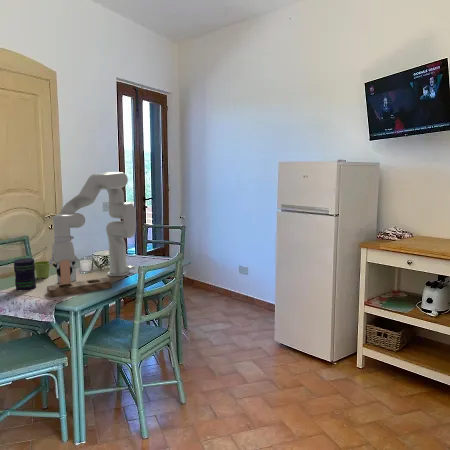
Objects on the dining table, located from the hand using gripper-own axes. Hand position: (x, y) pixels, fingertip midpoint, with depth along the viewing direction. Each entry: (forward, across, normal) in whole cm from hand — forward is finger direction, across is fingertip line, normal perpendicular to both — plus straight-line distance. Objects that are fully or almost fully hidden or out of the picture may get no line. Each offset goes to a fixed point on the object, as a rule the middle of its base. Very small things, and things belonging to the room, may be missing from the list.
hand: (64, 274), depth 208 cm
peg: (+4, 0, 0) cm, 4 cm away
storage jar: (+9, +16, -20) cm, 27 cm away
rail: (+9, -7, 0) cm, 11 cm away
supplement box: (+9, -5, -22) cm, 24 cm away
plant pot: (+9, +5, -38) cm, 40 cm away
